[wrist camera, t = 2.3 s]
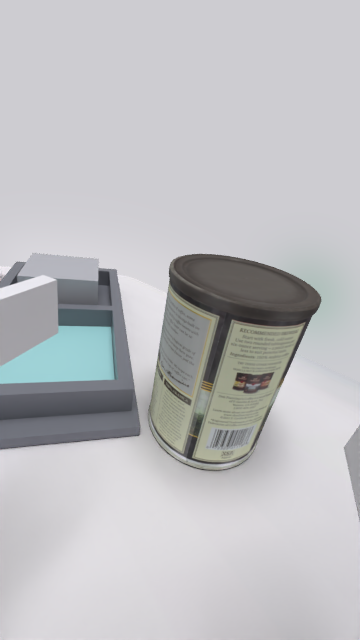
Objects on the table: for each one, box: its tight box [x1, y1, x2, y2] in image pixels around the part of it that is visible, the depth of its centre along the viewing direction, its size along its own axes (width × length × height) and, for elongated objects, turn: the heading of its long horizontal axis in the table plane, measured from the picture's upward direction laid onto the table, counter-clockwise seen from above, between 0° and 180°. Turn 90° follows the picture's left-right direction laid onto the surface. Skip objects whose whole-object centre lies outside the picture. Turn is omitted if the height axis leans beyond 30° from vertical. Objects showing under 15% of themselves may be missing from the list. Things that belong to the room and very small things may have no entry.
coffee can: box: [148, 254, 321, 470], centre depth 22 cm, size 10×10×14 cm
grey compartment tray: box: [0, 253, 140, 449], centre depth 32 cm, size 16×30×6 cm, turn 15°
